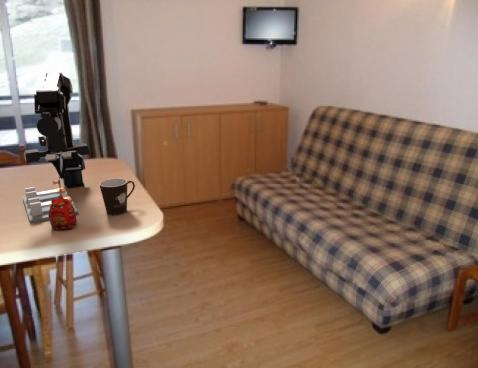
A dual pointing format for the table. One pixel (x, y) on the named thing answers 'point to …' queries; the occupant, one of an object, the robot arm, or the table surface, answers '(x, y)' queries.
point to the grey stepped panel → (39, 205)
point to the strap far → (50, 192)
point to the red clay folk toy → (61, 212)
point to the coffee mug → (115, 195)
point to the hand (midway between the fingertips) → (61, 178)
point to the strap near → (48, 204)
